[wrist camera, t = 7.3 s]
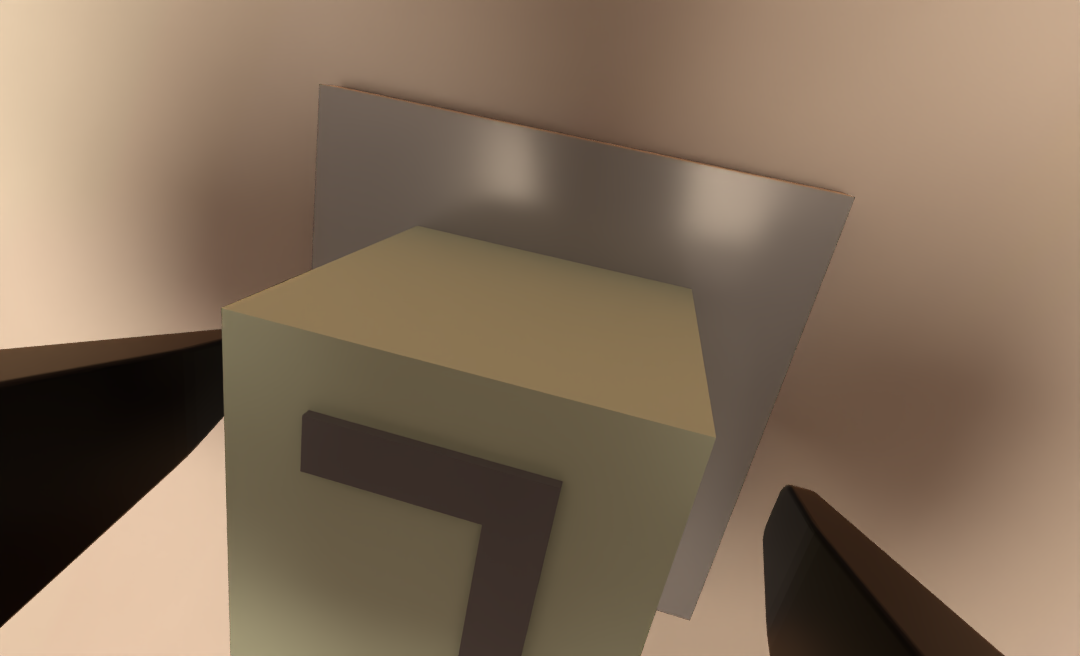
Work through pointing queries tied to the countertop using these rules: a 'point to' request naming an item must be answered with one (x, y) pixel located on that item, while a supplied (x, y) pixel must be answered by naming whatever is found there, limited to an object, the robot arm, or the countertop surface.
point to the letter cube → (458, 453)
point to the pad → (601, 248)
